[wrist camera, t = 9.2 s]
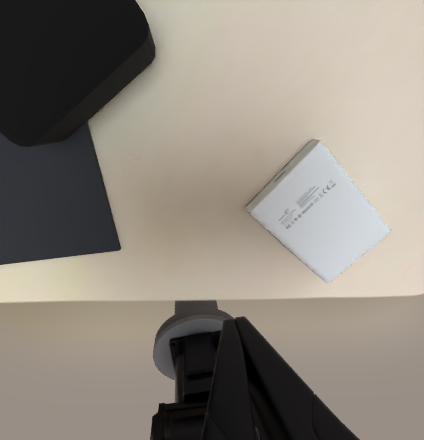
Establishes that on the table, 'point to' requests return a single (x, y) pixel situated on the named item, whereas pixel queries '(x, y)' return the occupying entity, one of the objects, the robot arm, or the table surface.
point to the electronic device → (65, 63)
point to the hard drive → (319, 212)
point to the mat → (53, 201)
